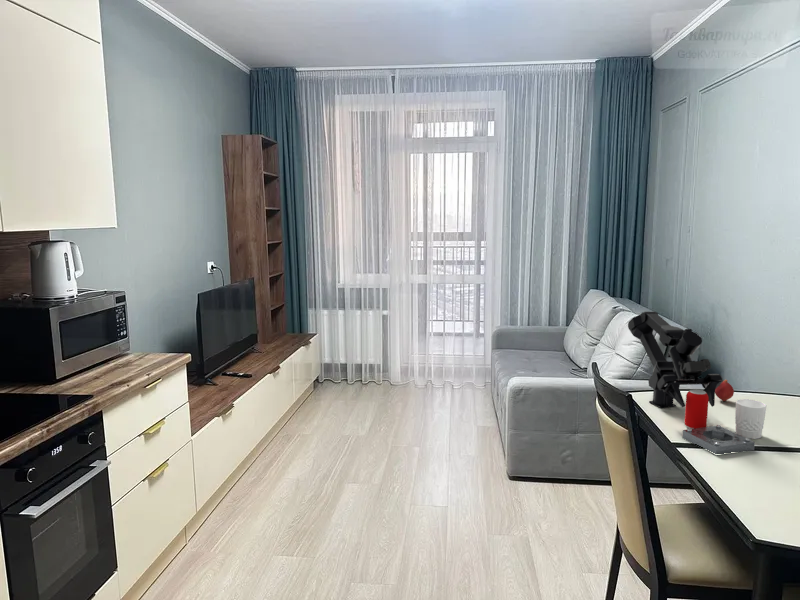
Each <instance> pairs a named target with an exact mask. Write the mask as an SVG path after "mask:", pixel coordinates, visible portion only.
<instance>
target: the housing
mask: <svg viewBox="0 0 800 600" xmlns="http://www.w3.org/2000/svg"><path fill="white" fill-rule="evenodd" d="M681 435H682V436H681V438H682V439H683V438H684V440H685V439H686V440H685V441H687V440H688V442H689V441H690V442H689V443H691V442H692V443H691V444H693V443H694V444H693V445H695V444H697V445H699V446H701V447H703V448H705V449H707V450H709V451H711V452H713V453H715V454H724V453H731V452H738V453H744V452H743V451H746V452H752V450H753V451H755V445H756V442H755V441H754V440H753V439H750V438H745V437H743V436H741V435H739V434H736V432H735V431H732V430H730V429H727V428H725V427H723V426H722V425H721V424H716V425H712V426H706V427H703V428H695V429H690V428H688V427H687V429H682V434H681ZM697 445H696V446H697ZM699 446H698V447H699ZM701 447H700V448H701ZM731 454H732V453H731ZM724 455H725V454H724Z"/></svg>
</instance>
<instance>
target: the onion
mask: <svg viewBox="0 0 800 600" xmlns="http://www.w3.org/2000/svg"><path fill="white" fill-rule="evenodd" d="M734 394H735V390H734V388H733V386H732V384H730V383H729V382H728V379H723V382H722V383H721V384H720V385H719V386H718V387H717V388H716V389H715V397H717V398H719V400H720V401H722V402H727V401H729V399H731V398H732V397H733V396H734Z"/></svg>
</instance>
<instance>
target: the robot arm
mask: <svg viewBox="0 0 800 600" xmlns="http://www.w3.org/2000/svg"><path fill="white" fill-rule="evenodd" d="M627 327H628V330H629V332H630V334H632V336H633V337H634V338H636V339H639V340H640V343H641V345H642V346H643V348H644V351H645V353H646V354H647V357H648V359H649V361H650V363H651V365H652V367H653V370H652V373H651V374H652V375H651V376H650V377H649V379H648V387H650V388H651V389H653V393H652V394H653V395H652V397H653V398H652V400H649V401H648V403H650V404H651V405H653V406H656V407H658V408H660V409H663V408H664V409H665V408H673V407H675V408H676V407H677V404H675V403H674V400H675V401H676V402H677V403H678V404H679V406H680V407H681V408H684V407H686V403H685V401H684V397H683V395H682V392H681V391H680V385H681V386H682V385H683V386H687V385H691V386H693V385H701V386H702V388H703V389H702V390H703V391H705V392H706V393H707V395H708V397H709V400H708V404H709V405H710V406H711V407H712V408H713V407H714V406H715V403H716V400H715V398H716V394H715V389H716V388H717V387H718V386H719V385H720V384H721V383H722V382H723V381H724V379H723V376H722V375H721V374H720V373H707V374H706V375H705V377H702V378H701V376H702V373H703V372H704V373H705V372H707V370H710V369H712V365H711V362H710V359H708V358H703V359H700V360H699V361H697V360H693V359H692V358H691V356H692V355H694V354H695V352H696V351H697V350H698V349H699V347H700V346H701V345H702V343H703V338H702V336H700V335H699V333H697V332H694V331H693V330H692V328H685V329H683V328H680V327H678V326H673V325H671V324H670V323H669V322H667V320H666V319H664V318H663V317H661V316H660V315H659V313H658V312H657V311H642V312H641V313H640V314H638V315H635V316H633V317H632V318H630V320H629V321H628V322H627ZM654 332H656V334H657V335H659V339H658V340H659V341H660V343H661V344H662V346H663V347H671V348H670V349H668V350H669V351H668V352H667V356H666V357H667V358H670V359H671V360H670V361H668V360H667V358H666V357H665V354H664V353H663V350H662V349H661V347H660V345H659V343H658V341H657V339H656V337H655V335H654Z"/></svg>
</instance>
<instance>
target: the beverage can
mask: <svg viewBox="0 0 800 600" xmlns="http://www.w3.org/2000/svg"><path fill="white" fill-rule="evenodd" d="M703 390H704V389H697V388H691V389H689V390H688V392H687V393H686V395H685V406H684V407H685V409H684V410H685V411H684V425H685V427H686V428H687V429H688V428H689V429H695V428H703V427H708V423H707V422H708V412H709V411H708V409H709V401H708V400H709V397H708V395H707V393H706V392H705V391H703Z"/></svg>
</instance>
